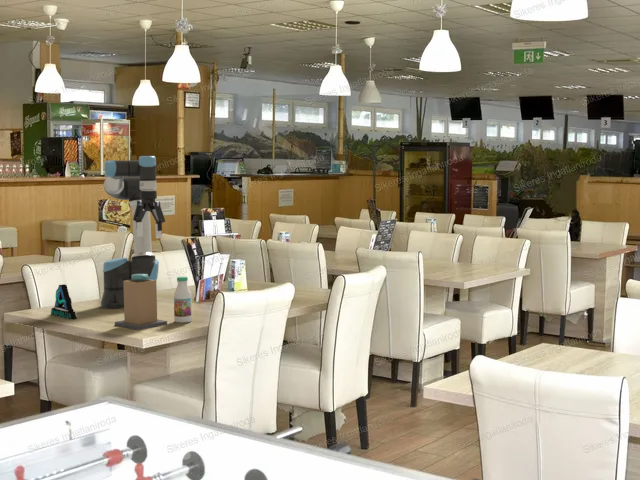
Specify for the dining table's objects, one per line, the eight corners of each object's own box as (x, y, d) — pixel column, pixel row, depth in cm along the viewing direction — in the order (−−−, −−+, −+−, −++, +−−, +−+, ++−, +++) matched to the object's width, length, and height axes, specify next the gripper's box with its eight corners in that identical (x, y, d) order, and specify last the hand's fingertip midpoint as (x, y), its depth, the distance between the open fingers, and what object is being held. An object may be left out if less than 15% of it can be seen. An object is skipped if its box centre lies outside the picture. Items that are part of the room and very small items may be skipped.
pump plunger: (129, 319, 390) (127, 275, 388) (142, 316, 395) (141, 273, 393) (142, 321, 383) (141, 276, 381) (156, 319, 389) (155, 275, 387)
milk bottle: (175, 320, 401) (174, 275, 399) (192, 319, 402) (191, 275, 400) (173, 323, 393) (172, 278, 391) (191, 323, 394) (190, 278, 392)
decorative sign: (76, 319, 406) (75, 286, 404) (71, 320, 404) (70, 287, 402) (55, 314, 419) (54, 282, 417) (50, 314, 417) (49, 283, 416)
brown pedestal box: (114, 325, 390) (113, 281, 388) (144, 320, 401) (143, 277, 400) (137, 329, 379) (135, 284, 377) (167, 324, 391) (166, 280, 389)
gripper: (124, 190, 408) (125, 236, 410) (158, 191, 391) (159, 239, 393) (138, 189, 413) (139, 235, 415) (172, 190, 397) (173, 238, 399)
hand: (149, 237), depth 404 cm, fingers open, 13 cm apart
